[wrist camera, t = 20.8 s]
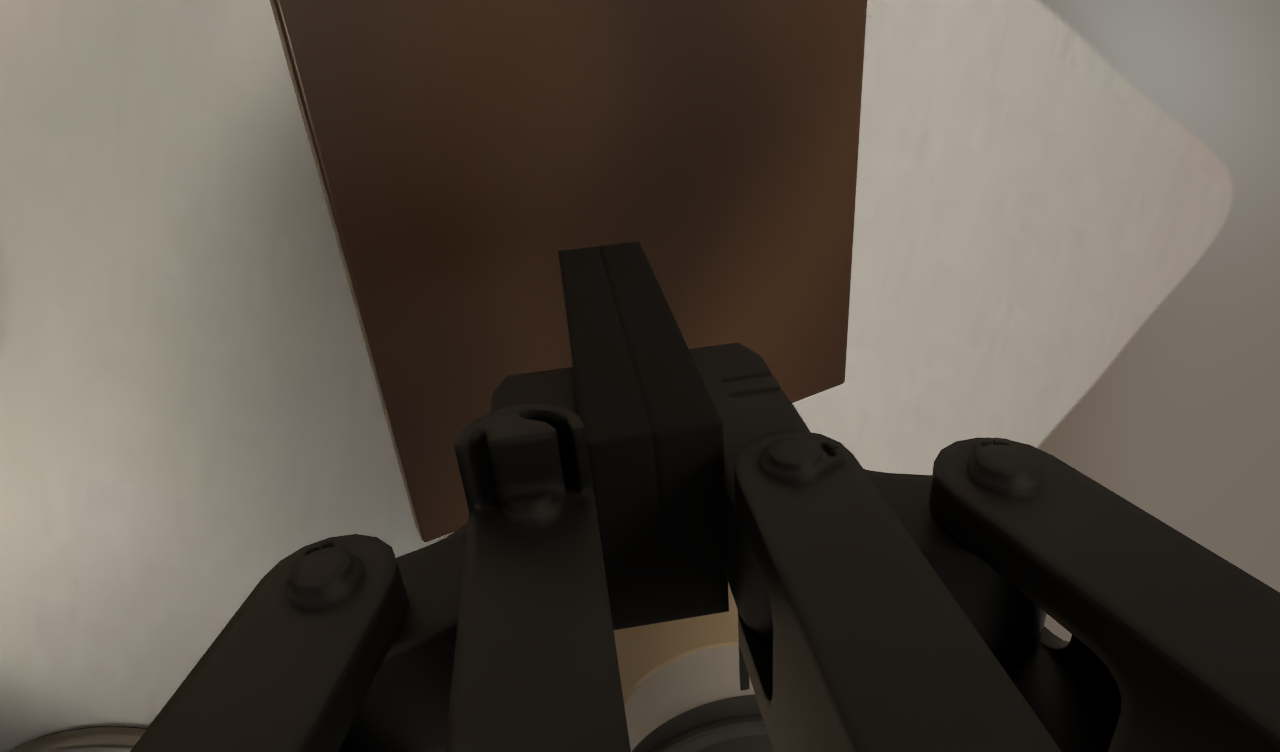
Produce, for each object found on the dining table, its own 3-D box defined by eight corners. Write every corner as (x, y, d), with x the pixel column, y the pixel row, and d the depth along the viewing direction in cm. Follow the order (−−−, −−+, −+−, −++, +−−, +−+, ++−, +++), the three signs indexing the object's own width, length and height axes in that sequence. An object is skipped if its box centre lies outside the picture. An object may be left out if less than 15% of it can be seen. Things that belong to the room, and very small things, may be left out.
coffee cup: (683, 451, 36) (774, 720, 23) (795, 546, 40) (929, 826, 26) (553, 563, 38) (566, 870, 25) (671, 644, 42) (737, 948, 28)
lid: (416, 527, 19) (423, 545, 19) (255, -50, 13) (259, -54, 12) (828, 374, 25) (845, 383, 24) (850, -85, 19) (873, -88, 18)
